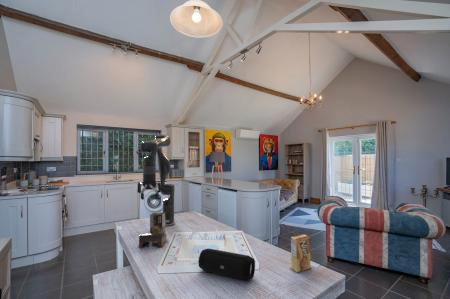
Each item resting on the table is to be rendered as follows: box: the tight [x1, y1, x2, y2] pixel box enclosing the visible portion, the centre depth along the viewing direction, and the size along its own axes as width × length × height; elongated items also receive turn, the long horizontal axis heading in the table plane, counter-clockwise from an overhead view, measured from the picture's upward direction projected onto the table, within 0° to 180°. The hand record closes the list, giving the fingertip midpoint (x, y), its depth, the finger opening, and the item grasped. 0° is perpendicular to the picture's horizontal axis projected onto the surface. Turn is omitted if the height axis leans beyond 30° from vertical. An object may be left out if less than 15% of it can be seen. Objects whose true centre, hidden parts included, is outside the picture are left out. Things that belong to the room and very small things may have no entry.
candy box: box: [290, 234, 311, 273], centre depth 105 cm, size 9×4×15 cm, turn 116°
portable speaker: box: [197, 248, 256, 281], centre depth 101 cm, size 26×10×10 cm, turn 66°
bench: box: [138, 233, 167, 249], centre depth 137 cm, size 10×14×8 cm
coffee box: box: [149, 211, 167, 234], centre depth 150 cm, size 9×6×16 cm
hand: (149, 199), depth 134 cm, fingers open, 8 cm apart
